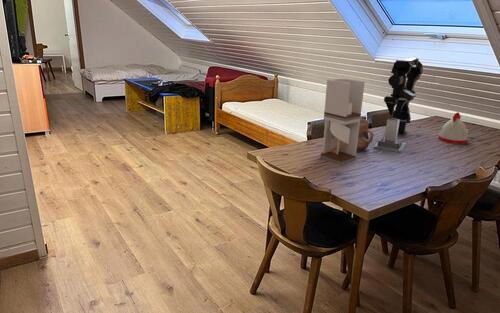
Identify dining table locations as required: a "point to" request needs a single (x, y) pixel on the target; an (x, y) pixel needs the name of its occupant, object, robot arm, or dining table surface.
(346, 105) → the display case
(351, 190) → the dining table surface
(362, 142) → the ceramic jug
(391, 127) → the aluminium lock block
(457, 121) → the cream and red dome
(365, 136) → the door stopper
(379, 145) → the coupler cradle
